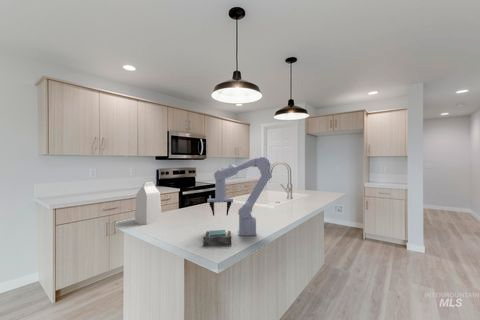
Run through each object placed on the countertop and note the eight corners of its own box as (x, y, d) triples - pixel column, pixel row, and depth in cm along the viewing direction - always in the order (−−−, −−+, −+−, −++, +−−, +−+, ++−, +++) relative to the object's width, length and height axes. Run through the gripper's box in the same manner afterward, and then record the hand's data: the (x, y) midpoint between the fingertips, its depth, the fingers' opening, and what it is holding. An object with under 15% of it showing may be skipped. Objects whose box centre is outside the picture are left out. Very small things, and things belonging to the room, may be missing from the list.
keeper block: (224, 239, 115) (224, 230, 115) (225, 244, 109) (225, 233, 109) (209, 240, 114) (209, 230, 114) (209, 245, 108) (209, 234, 108)
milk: (146, 224, 140) (146, 183, 139) (134, 222, 145) (134, 182, 145) (161, 220, 150) (161, 181, 150) (150, 218, 156) (150, 181, 156)
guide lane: (230, 233, 124) (230, 225, 124) (231, 245, 106) (231, 237, 106) (206, 233, 123) (206, 226, 123) (203, 246, 105) (203, 237, 105)
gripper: (232, 190, 131) (232, 213, 131) (208, 190, 130) (208, 213, 130) (233, 191, 124) (233, 216, 124) (207, 192, 123) (207, 216, 123)
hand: (220, 215), depth 127 cm, fingers open, 7 cm apart
